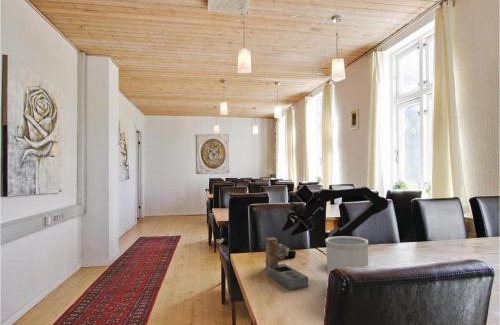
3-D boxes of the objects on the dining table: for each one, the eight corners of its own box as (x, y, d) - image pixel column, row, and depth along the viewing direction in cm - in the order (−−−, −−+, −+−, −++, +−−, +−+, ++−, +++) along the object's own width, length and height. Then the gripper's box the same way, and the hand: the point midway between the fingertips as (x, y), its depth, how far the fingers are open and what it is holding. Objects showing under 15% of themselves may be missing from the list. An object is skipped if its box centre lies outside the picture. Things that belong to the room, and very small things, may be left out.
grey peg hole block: (267, 274, 125) (267, 265, 125) (284, 272, 128) (284, 263, 128) (289, 290, 108) (289, 280, 108) (308, 286, 111) (308, 276, 111)
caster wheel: (294, 259, 154) (293, 262, 145) (273, 254, 157) (270, 256, 147) (297, 246, 155) (296, 248, 145) (276, 241, 158) (273, 242, 148)
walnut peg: (274, 266, 136) (273, 237, 136) (278, 269, 132) (277, 239, 133) (266, 267, 134) (265, 238, 135) (270, 270, 131) (269, 240, 131)
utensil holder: (319, 284, 114) (317, 237, 114) (353, 279, 118) (352, 234, 118) (341, 300, 99) (339, 246, 100) (379, 294, 103) (377, 242, 104)
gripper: (290, 194, 149) (268, 216, 145) (309, 199, 131) (284, 224, 128) (303, 211, 151) (282, 233, 148) (324, 217, 133) (300, 243, 130)
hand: (286, 233), depth 138 cm, fingers open, 9 cm apart
